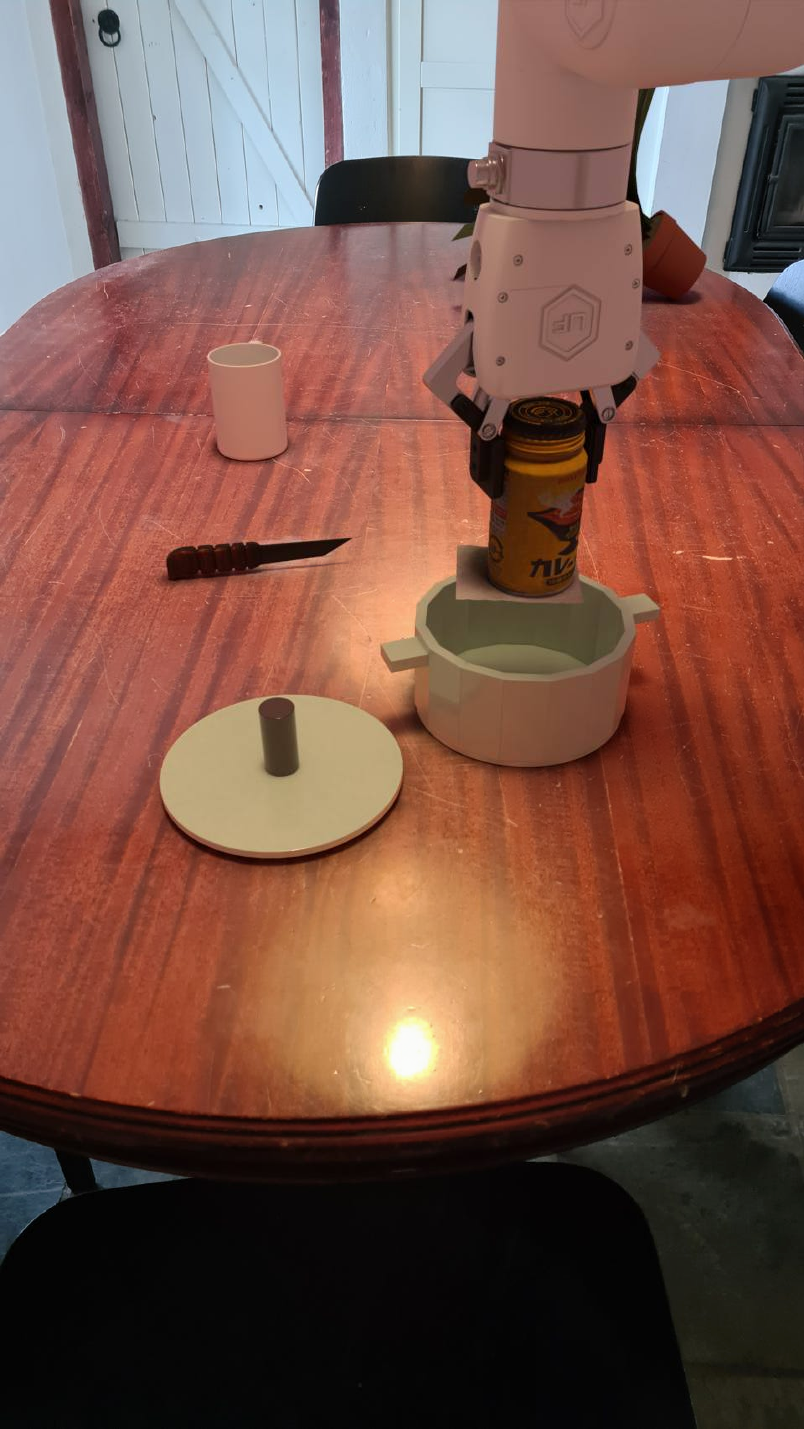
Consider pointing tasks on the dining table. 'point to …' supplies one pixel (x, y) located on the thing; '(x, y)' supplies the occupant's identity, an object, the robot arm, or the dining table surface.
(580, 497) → the condiment
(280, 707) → the lid
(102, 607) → the dining table surface
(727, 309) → the dining table surface
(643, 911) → the dining table surface
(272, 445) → the mug
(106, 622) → the dining table surface
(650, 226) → the potted plant
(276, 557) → the knife
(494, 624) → the pot
